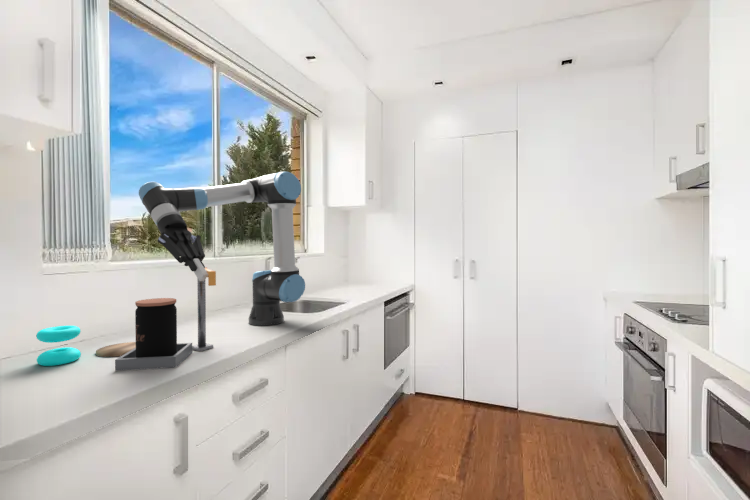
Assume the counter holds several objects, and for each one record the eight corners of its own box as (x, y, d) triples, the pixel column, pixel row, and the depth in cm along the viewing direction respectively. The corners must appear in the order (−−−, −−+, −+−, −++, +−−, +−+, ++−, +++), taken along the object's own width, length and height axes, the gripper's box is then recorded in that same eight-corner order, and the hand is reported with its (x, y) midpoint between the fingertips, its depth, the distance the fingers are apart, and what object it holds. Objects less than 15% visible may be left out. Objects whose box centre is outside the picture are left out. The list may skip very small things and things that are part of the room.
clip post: (203, 345, 128) (203, 274, 128) (213, 347, 126) (212, 274, 125) (190, 349, 124) (189, 275, 123) (199, 351, 121) (199, 275, 121)
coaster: (158, 343, 132) (158, 340, 132) (139, 355, 117) (139, 353, 117) (110, 345, 129) (110, 342, 129) (85, 358, 114) (85, 355, 114)
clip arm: (194, 280, 125) (194, 267, 125) (206, 279, 127) (206, 267, 127) (205, 285, 107) (205, 271, 107) (219, 285, 109) (219, 270, 109)
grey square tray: (192, 352, 121) (192, 342, 121) (175, 367, 105) (175, 356, 105) (140, 354, 118) (139, 345, 118) (115, 370, 103) (115, 359, 103)
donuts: (74, 330, 108) (30, 333, 104) (75, 364, 108) (30, 369, 104) (84, 323, 117) (43, 326, 113) (84, 355, 117) (44, 359, 113)
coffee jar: (139, 357, 114) (138, 299, 114) (178, 353, 119) (178, 297, 118) (132, 368, 105) (131, 304, 104) (175, 363, 109) (174, 301, 109)
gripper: (184, 231, 123) (217, 284, 115) (143, 229, 112) (176, 288, 104) (194, 214, 120) (229, 267, 112) (153, 211, 109) (188, 270, 101)
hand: (203, 277), depth 108 cm, fingers closed
